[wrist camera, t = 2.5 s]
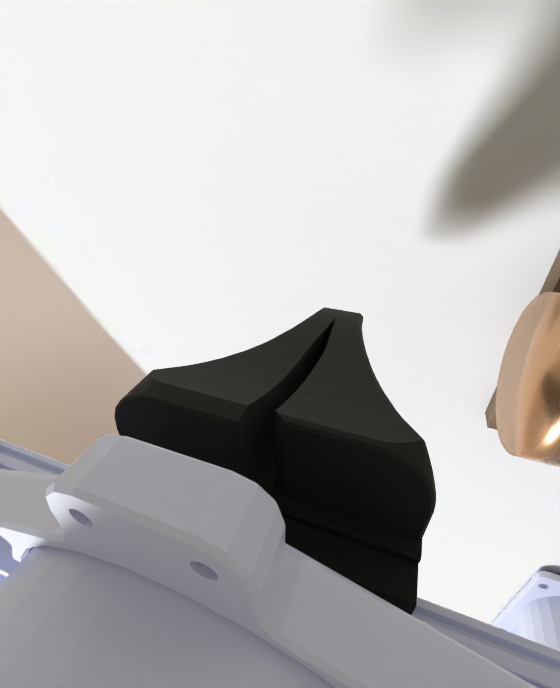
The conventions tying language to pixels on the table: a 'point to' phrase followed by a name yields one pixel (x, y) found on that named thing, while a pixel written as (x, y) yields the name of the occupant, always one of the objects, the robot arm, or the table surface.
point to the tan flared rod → (532, 384)
